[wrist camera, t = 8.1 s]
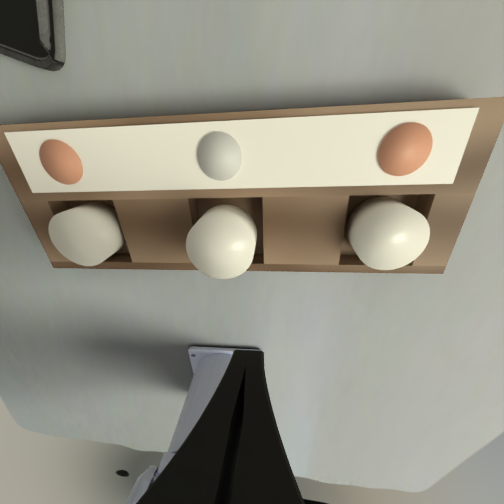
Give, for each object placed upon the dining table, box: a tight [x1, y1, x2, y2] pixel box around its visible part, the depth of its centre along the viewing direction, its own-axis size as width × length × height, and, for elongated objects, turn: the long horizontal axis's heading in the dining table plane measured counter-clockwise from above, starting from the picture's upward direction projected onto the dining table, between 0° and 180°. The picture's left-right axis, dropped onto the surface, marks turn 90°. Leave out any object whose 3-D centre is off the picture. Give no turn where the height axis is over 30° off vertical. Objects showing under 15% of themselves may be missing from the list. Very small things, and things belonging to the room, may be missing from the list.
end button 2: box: [345, 197, 430, 270], centre depth 15 cm, size 4×4×2 cm
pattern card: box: [4, 107, 480, 193], centre depth 13 cm, size 4×26×1 cm, turn 92°
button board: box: [0, 97, 504, 274], centre depth 16 cm, size 10×29×2 cm, turn 92°
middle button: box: [186, 204, 257, 279], centre depth 14 cm, size 4×4×2 cm
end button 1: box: [48, 202, 126, 266], centre depth 17 cm, size 4×4×2 cm
